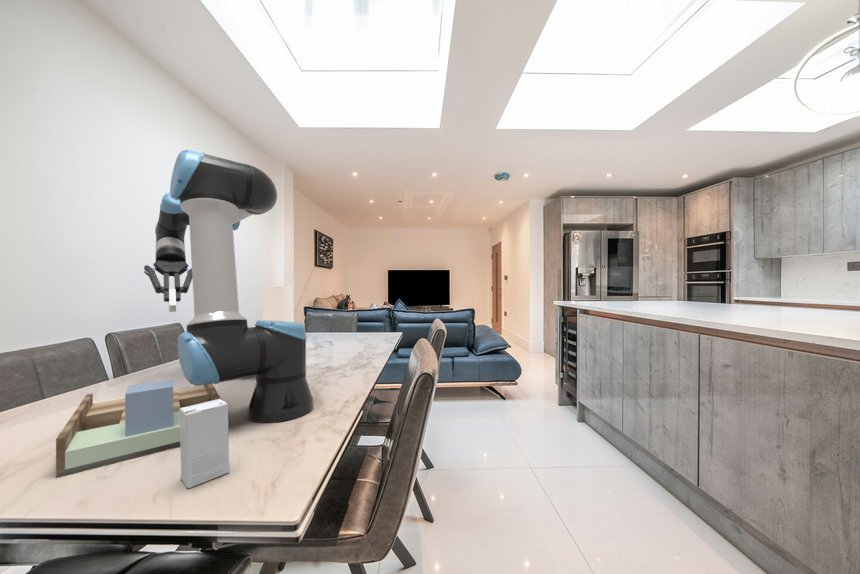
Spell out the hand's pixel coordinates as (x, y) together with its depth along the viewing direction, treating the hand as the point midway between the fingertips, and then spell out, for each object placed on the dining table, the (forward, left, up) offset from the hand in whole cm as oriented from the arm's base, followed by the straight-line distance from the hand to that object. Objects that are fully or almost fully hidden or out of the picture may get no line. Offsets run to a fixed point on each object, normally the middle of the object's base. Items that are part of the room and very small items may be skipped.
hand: (172, 308), depth 92 cm
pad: (-18, +24, -26) cm, 40 cm away
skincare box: (-38, +34, -26) cm, 58 cm away
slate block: (-19, +25, -22) cm, 38 cm away
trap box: (-11, +17, -26) cm, 33 cm away
